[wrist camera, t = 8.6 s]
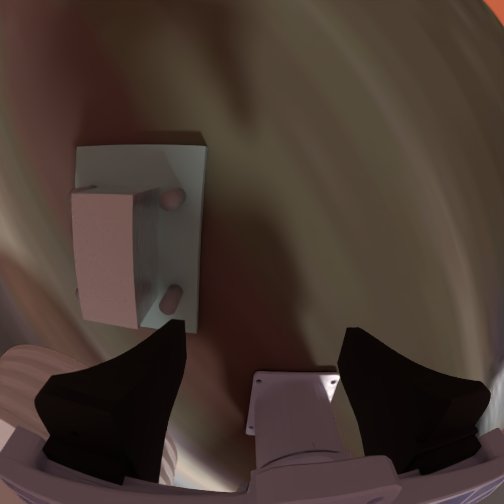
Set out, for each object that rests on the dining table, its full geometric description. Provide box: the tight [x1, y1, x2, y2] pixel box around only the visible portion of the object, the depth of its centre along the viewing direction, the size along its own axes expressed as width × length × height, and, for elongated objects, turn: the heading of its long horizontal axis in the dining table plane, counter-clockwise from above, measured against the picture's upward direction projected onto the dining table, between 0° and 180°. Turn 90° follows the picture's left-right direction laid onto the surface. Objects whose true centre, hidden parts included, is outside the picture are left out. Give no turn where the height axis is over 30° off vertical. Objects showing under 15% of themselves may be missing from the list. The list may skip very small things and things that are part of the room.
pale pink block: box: [72, 185, 160, 329], centre depth 17 cm, size 8×4×5 cm, turn 174°
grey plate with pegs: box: [68, 144, 208, 334], centre depth 19 cm, size 14×10×4 cm
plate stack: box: [0, 345, 178, 486], centre depth 23 cm, size 28×28×12 cm
